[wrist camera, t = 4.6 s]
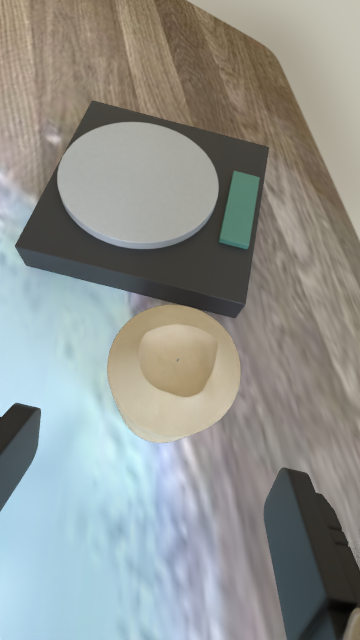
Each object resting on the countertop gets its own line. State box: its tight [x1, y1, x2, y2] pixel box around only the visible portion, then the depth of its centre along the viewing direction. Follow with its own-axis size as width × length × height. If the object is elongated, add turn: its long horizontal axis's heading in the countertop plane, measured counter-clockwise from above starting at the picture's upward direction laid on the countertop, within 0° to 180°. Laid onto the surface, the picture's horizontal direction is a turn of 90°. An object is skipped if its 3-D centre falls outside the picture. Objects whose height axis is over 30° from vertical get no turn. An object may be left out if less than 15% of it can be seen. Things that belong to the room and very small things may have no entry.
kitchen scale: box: [15, 101, 269, 318], centre depth 25 cm, size 16×16×3 cm
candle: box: [107, 305, 241, 443], centre depth 16 cm, size 6×6×10 cm
